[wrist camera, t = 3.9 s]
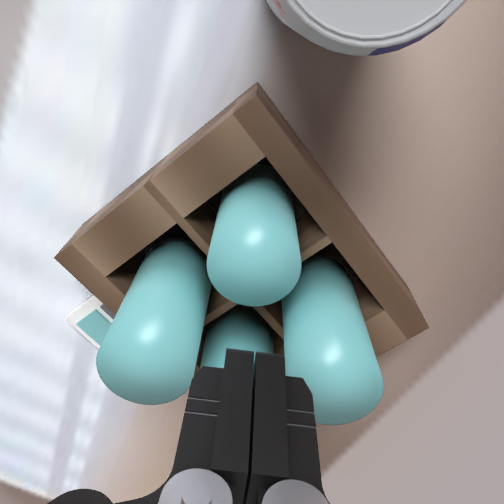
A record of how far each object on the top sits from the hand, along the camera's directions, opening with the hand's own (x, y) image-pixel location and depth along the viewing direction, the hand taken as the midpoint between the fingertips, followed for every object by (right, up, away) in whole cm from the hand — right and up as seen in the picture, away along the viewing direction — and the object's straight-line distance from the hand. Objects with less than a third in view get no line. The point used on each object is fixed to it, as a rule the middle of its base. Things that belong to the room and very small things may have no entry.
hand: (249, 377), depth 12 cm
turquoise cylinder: (+3, +1, +12) cm, 13 cm away
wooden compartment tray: (0, +3, +14) cm, 15 cm away
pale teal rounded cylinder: (-4, +2, +12) cm, 13 cm away
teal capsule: (0, +6, +13) cm, 14 cm away
